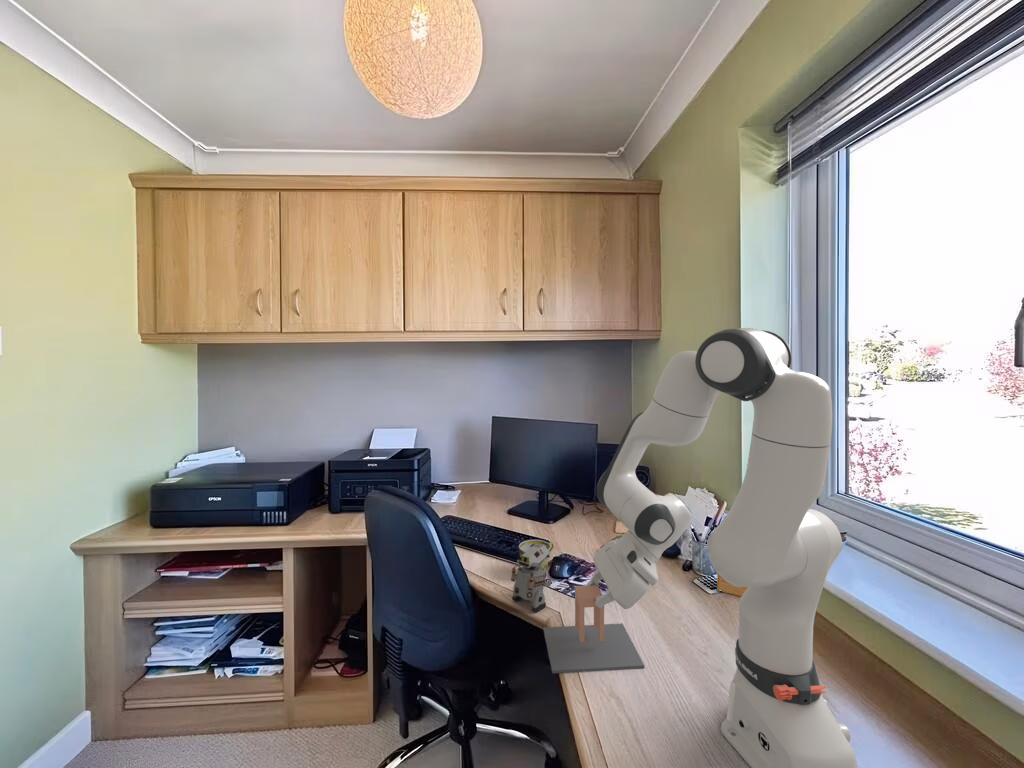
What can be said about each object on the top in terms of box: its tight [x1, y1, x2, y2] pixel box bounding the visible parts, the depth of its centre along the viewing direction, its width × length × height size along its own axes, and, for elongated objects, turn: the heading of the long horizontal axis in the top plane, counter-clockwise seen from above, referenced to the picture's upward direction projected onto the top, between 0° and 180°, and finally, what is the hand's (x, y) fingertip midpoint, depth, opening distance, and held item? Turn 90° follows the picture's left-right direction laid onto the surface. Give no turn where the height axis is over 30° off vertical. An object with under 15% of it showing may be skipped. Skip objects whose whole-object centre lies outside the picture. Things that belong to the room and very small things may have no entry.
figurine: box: [510, 543, 552, 614], centre depth 118 cm, size 9×12×15 cm
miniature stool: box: [574, 584, 605, 642], centre depth 98 cm, size 6×6×10 cm
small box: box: [716, 572, 748, 597], centre depth 122 cm, size 8×6×13 cm
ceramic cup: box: [518, 539, 554, 574], centre depth 132 cm, size 13×10×10 cm
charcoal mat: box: [542, 623, 645, 674], centre depth 98 cm, size 15×20×1 cm
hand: (593, 596), depth 98 cm, fingers closed on miniature stool, 5 cm apart
